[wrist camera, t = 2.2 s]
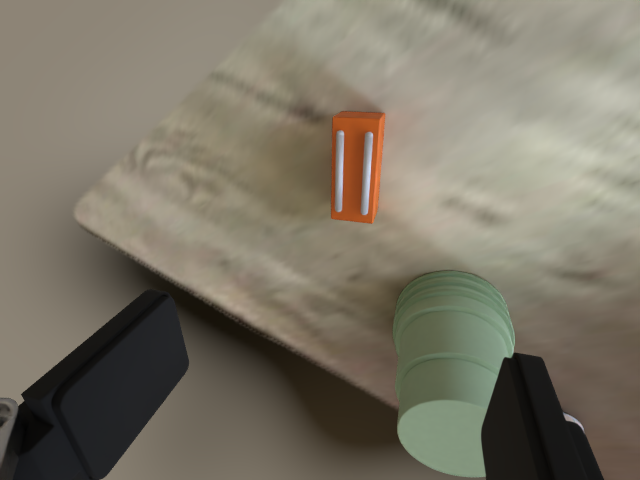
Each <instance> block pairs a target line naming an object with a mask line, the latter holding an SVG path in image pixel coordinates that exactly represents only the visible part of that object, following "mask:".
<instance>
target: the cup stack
mask: <svg viewBox="0 0 640 480" xmlns="http://www.w3.org/2000/svg"><path fill="white" fill-rule="evenodd" d="M393 339H394V343H395V348H396V352H397V355H398V365H397V373H396V381H395V390H396V395H397V398H398V400H399V402H400V404H399V413H398V423H397V433H398V436H399V439H400V442H401V443H402V445H403V446H404V448H405V449H406V450H407V451H408V452H409V454H411V455H412V456H413V457H414V458H415V459H417V460H418V461H420V462H421V463H423V464H425V465H426V466H428V467H430V468H433V469H435V470H438V471H441V472H444V473H447V474H451V475H456V476H463V477H484V476H486V474H485V467H484V459H483V452H482V445H481V428H482V424H483V421H484V418H485V415H486V412H487V409H488V405H489V402H490V399H491V396H492V393H493V390H494V386H495V383H496V380H497V377H498V374H499V370H500V367H501V364H502V361H503V359H504V357H508V358H511V357H512V355H513V349H514V345H515V335H514V330H513V327H512V324H511V319H510V316H509V313H508V308H507V305H506V302H505V301H504V299H503V297H502V295H501V294H500V293H499V291H498V290H497V289H496V288H495V287H493V286H492V285H491V284H490V283H488V282H487V281H485V280H483V279H482V278H479V277H477V276H475V275H472V274H469V273H465V272H459V271H438V272H433V273H429V274H426V275H423V276H421V277H419V278H417V279H415V280H414V281H412V282H411V283H410V284H408V285H407V286H406V287H405V288H404V290H403V291H402V292H401V294H400V296H399V298H398V300H397V304H396V312H395V316H394V323H393Z"/></svg>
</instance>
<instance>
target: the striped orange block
mask: <svg viewBox="0 0 640 480" xmlns="http://www.w3.org/2000/svg"><path fill="white" fill-rule="evenodd" d="M384 123H385V113H372V112H347V111H342V112H340V113H338V114H337V115H335V116H334V117H333V118H332V191H331V219H337V220H345V221H354V222H362V223H371V224H372V223H373V221H374V218H375V216H376V213H377V210H378V198H379V185H380V173H381V161H382V148H383V136H384Z"/></svg>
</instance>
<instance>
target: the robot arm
mask: <svg viewBox="0 0 640 480" xmlns="http://www.w3.org/2000/svg"><path fill="white" fill-rule="evenodd" d="M188 366H189V359H188V355H187V351H186V347H185V343H184V339H183V335H182V331H181V327H180V322H179V318H178V315H177V310H176V306H175V302H174V300H173V298H171V296H170V294H169V293H168V292H163V291H158V290H152V289H150V290H147V291H145V292H144V293H142V294H141V295H140V296H139V297H138V298H136V299H135V300H134V301H133V302H131V303H130V304H129V305H128V306H127V307H125V308H124V309H123V310H122V311H121V312H119V313H118V314H117V315H116V316H115V317H113V318H112V319H111V320H110V321H109V322H108V323H106V324H105V325H104V326H103V327H102V328H100V329H99V330H98V331H97V332H96V333H94V334H93V335H92V336H91V337H89V338H88V339H87V340H86V341H85V342H83V343H82V344H81V345H80V346H78V347H77V348H76V349H75V350H74V351H72V352H71V353H70V354H69V355H68V356H66V357H65V358H64V359H63V360H62V361H60V362H59V363H58V364H57V365H56V366H54V367H53V368H52V369H51V370H50V371H48V372H47V373H46V374H45V375H44V376H42V377H41V378H40V379H39V380H38V381H36V382H35V383H34V384H33V385H31V386H30V387H29V388H28V389H27V390H25V391H24V392H23V393H22V394H21V395H22V397H23V399H24V400H25V401H24V402H23V403H22V404H20V405H19V406H18V404H17V403H16V401H15V400H13V399H10V398H0V480H100V479H103V478H104V477H105V476H107V474H108V473H109V472H110V471H111V469H112V468H113V467H114V466H115V464H116V463H117V462H118V460H119V459H120V458H121V456H122V455H123V454H124V452H125V451H126V450H127V449H128V447H129V446H130V445H131V443H132V442H133V441H134V440H135V438H136V437H137V436H138V434H139V433H140V432H141V430H142V429H143V428H144V426H145V425H146V424H147V423H148V421H149V420H150V419H151V417H152V416H153V415H154V413H155V412H156V411H157V410H158V408H159V407H160V406H161V404H162V403H163V402H164V400H165V399H166V398H167V396H168V395H169V394H170V392H171V391H172V390H173V389H174V387H175V386H176V385H177V383H178V382H179V381H180V379H181V378H182V377H183V376H184V374H185V373H186V371H187V369H188ZM481 445H482V452H483V459H484V467H485V474H486V480H604V479H603V476H602V474H601V471H600V469H599V466H598V464H597V462H596V459H595V457H594V454H593V452H592V449H591V447H590V445H589V442H588V440H587V437H586V435H585V433H584V431H583V429H582V428H581V427H580V426H579V425H578V423H575V422H571V421H566V419H565V417H564V414H563V411H562V409H561V406H560V403H559V401H558V398H557V395H556V393H555V390H554V387H553V385H552V382H551V379H550V377H549V374H548V371H547V369H546V366H545V363H544V361H543V359H542V358H541V357H538V356H532V355H526V354H520V353H513V355H512V357H511V358H508V357H504V359H503V361H502V364H501V367H500V370H499V374H498V377H497V380H496V383H495V386H494V390H493V393H492V396H491V399H490V402H489V405H488V409H487V412H486V415H485V418H484V421H483V424H482V428H481Z"/></svg>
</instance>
